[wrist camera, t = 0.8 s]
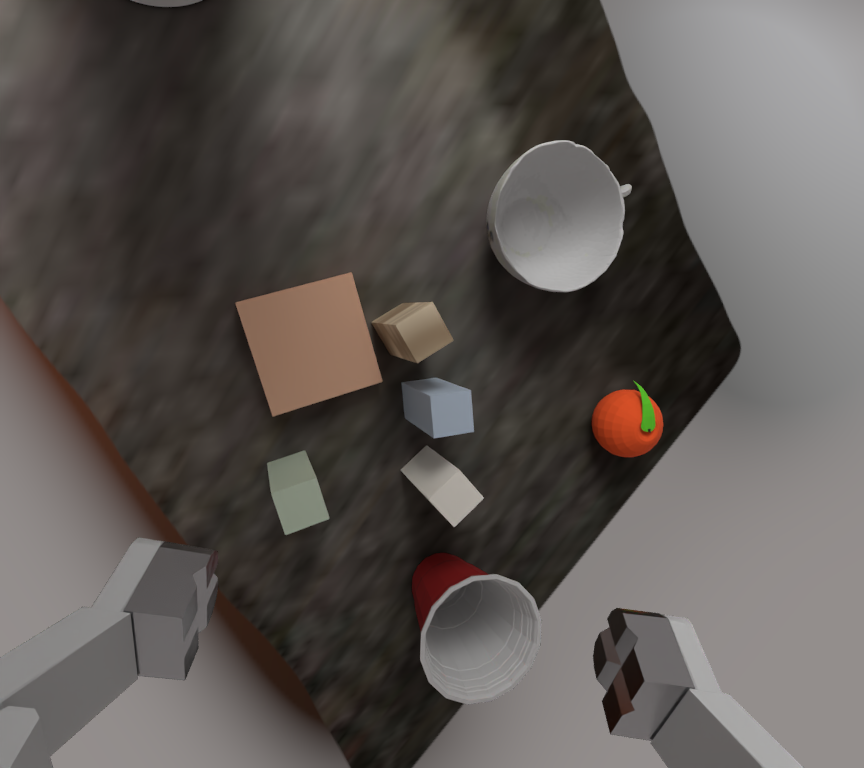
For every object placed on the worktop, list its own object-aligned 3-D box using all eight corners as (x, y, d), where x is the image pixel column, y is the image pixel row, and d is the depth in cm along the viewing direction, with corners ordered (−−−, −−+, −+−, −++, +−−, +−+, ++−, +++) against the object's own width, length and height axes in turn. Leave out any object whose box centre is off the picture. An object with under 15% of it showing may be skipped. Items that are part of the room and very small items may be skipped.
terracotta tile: (235, 302, 49) (235, 302, 47) (347, 273, 51) (351, 272, 50) (271, 412, 51) (272, 416, 49) (377, 379, 53) (382, 381, 52)
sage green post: (266, 463, 51) (271, 493, 43) (305, 450, 52) (316, 477, 44) (278, 498, 52) (285, 535, 44) (316, 485, 53) (329, 518, 44)
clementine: (577, 378, 60) (619, 387, 53) (633, 372, 62) (680, 380, 55) (578, 452, 61) (619, 470, 55) (633, 444, 63) (679, 460, 57)
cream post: (400, 470, 55) (428, 499, 47) (426, 445, 56) (459, 469, 47) (422, 494, 56) (454, 527, 48) (448, 469, 57) (484, 498, 48)
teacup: (487, 313, 56) (525, 314, 49) (442, 187, 53) (475, 167, 46) (612, 259, 60) (665, 251, 52) (576, 138, 57) (627, 111, 49)
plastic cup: (481, 514, 59) (538, 563, 47) (492, 610, 60) (549, 680, 49) (378, 540, 56) (412, 600, 44) (393, 641, 57) (430, 723, 46)
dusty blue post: (401, 382, 54) (430, 396, 46) (436, 377, 55) (470, 390, 47) (404, 418, 55) (433, 438, 46) (439, 412, 56) (474, 431, 47)
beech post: (371, 322, 53) (395, 324, 44) (402, 302, 53) (432, 301, 45) (390, 354, 54) (417, 363, 45) (421, 335, 54) (453, 340, 46)
